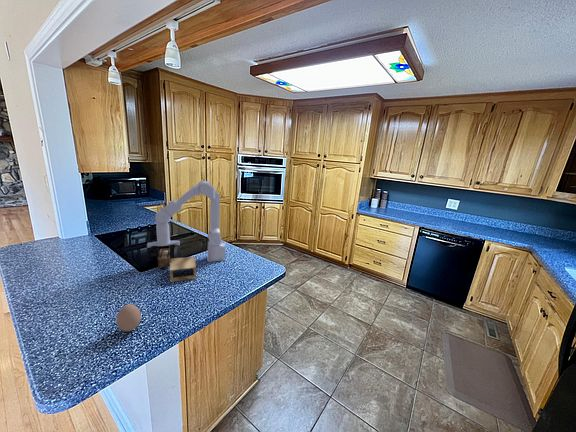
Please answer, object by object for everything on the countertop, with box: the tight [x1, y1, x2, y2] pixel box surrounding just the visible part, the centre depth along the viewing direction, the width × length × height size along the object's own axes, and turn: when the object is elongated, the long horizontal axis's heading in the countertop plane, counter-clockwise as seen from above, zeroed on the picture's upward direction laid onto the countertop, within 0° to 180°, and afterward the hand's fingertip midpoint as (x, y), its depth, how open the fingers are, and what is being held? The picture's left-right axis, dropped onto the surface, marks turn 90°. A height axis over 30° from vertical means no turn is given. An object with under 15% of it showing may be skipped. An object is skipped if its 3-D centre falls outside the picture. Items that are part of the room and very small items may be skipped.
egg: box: [116, 303, 142, 332], centre depth 76 cm, size 7×7×9 cm
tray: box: [157, 247, 171, 269], centre depth 121 cm, size 5×13×4 cm, turn 23°
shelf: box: [169, 256, 197, 283], centre depth 113 cm, size 11×12×6 cm
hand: (164, 258), depth 121 cm, fingers closed on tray, 5 cm apart
